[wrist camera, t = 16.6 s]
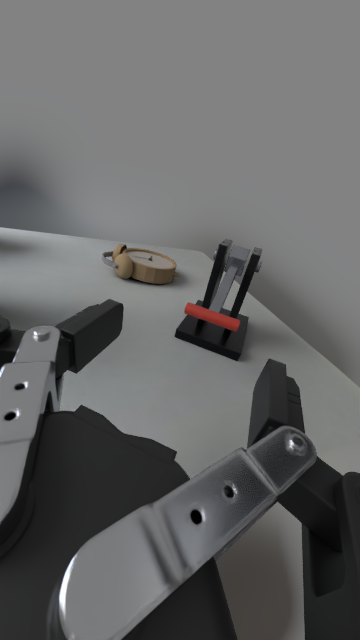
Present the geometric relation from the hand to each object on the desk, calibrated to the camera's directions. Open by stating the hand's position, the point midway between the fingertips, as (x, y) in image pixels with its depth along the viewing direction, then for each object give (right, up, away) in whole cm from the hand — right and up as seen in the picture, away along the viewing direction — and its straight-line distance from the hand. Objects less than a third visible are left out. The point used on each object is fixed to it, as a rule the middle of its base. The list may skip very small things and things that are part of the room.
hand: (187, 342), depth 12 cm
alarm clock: (-9, +11, +37) cm, 39 cm away
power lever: (+5, +5, +16) cm, 17 cm away
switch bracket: (+5, 0, +24) cm, 24 cm away
